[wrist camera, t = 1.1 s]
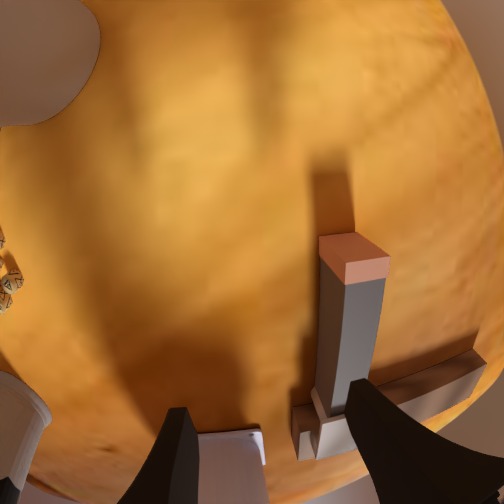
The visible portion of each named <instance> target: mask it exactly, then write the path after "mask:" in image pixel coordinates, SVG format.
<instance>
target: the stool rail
mask: <svg viewBox="0 0 504 504" xmlns="http://www.w3.org/2000/svg"><path fill="white" fill-rule="evenodd" d="M486 365H487V363H486V362H485V361H484V360H483V359H482V358H481V356H480V355H479V354H478V353H477V352H476V351H475V350H474V349H471V350H469V351H467V352H465V353H463V354H460V355H458V356H456V357H454V358H452V359H449V360H447V361H445V362H442V363H440V364H438V365H435V366H433V367H430V368H428V369H425V370H423V371H420V372H417V373H415V374H412V375H409V376H407V377H404V378H401V379H398V380H395V381H392V382H389V383H386V384H383V385H380V386H377V387H376V388H377V389H378V390H379V391H380V392H381V393H382V394H384V395H385V396H386V397H387V398H388V399H389V400H391V401H392V402H393V403H394V404H395V405H396V406H398V407H399V408H400V409H401V410H403V411H404V412H405V413H406V414H408V415H409V416H410V417H412V418H413V419H415V420H416V421H417V422H419V423H420V422H422V421H424V420H426V419H428V418H431V417H433V416H435V415H437V414H439V413H441V412H443V411H445V410H447V409H449V408H451V407H453V406H455V405H456V404H458V403H460V402H462V401H464V400H465V399H467V398H469V397H470V396H471V394H472V392H473V390H474V388H475V387H476V385H477V383H478V381H479V379H480V377H481V375H482V373H483V371H484V369H485V367H486ZM292 441H293V444H294V448H295V452H296V455H297V459H298V461H302V460H306V459H311V458H315V459H316V460H319V459H323V458H327V457H331V456H335V455H338V454H342V453H345V452H349V451H352V450H355V449H358V448H357V446H356V444H355V442H354V440H353V438H352V435H351V433H350V430H349V427H348V424H347V421H346V418H345V415H344V414H343V415H339V416H335V417H331V418H327V419H323V420H321V422H320V419H319V416H318V414H317V411H316V408H315V406H314V403H312V404H307V405H302V406H297V407H293V419H292Z"/></svg>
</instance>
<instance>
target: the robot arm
mask: <svg viewBox="0 0 504 504" xmlns="http://www.w3.org/2000/svg"><path fill="white" fill-rule="evenodd" d="M344 415H345V418H346V421H347V424H348V427H349V430H350V433H351V435H352V438H353V440H354V442H355V444H356V446H357V448H358V450H359V452H360V454H361V456H362V458H363V461H364V463H365V465H366V467H367V469H368V471H369V473H370V475H371V478H372V480H373V483H374V486H375V489H376V492H377V495H378V498H379V502H380V504H504V496H502V497H501V498H500V499H499V500H498V499H497V498H498V497H499V495H500V494H499V492H498V489H500V488H501V487H502V486H503V485H504V458H501V457H495V456H491V455H486V454H482V453H479V452H476V451H473V450H470V449H468V448H465V447H463V446H460V445H458V444H456V443H453V442H451V441H449V440H447V439H445V438H443V437H441V436H440V435H438V434H436V433H434V432H433V431H431V430H429V429H428V428H426V427H425V426H423V425H422V424H420V423H419V422H417V421H416V420H415V419H413V418H412V417H410V416H409V415H408V414H406V413H405V412H404V411H403V410H401V409H400V408H399V407H398V406H396V405H395V404H394V403H393V402H392V401H391V400H389V399H388V398H387V397H386V396H385V395H384V394H382V393H381V392H380V391H379V390H378V389H377V388H376V387H375V386H374V385H373V384H371V383H370V382H369V381H368V380H367V379H366V378H362V379H358V380H354V381H351V382H350V386H349V391H348V396H347V400H346V405H345V409H344ZM265 464H266V462H265V454H264V446H263V438H262V431H261V429H258V428H257V429H248V430H240V431H231V432H220V433H207V434H197V432H196V430H195V427H194V425H193V422H192V420H191V417H190V415H189V412H188V410H187V407H180V408H170V409H169V410H168V413H167V415H166V418H165V421H164V423H163V425H162V428H161V430H160V432H159V435H158V437H157V439H156V441H155V443H154V445H153V447H152V449H151V451H150V453H149V455H148V457H147V459H146V461H145V463H144V464H143V466H142V468H141V470H140V471H139V473H138V475H137V476H136V478H135V479H134V481H133V483H132V484H131V486H130V487H129V488H128V490H127V491H126V493H125V494H124V495H123V496H122V498H121V499H120V500H119V501H118V503H117V504H270V502H269V497H268V491H267V486H266V481H265V475H264V470H263V465H265Z"/></svg>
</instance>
